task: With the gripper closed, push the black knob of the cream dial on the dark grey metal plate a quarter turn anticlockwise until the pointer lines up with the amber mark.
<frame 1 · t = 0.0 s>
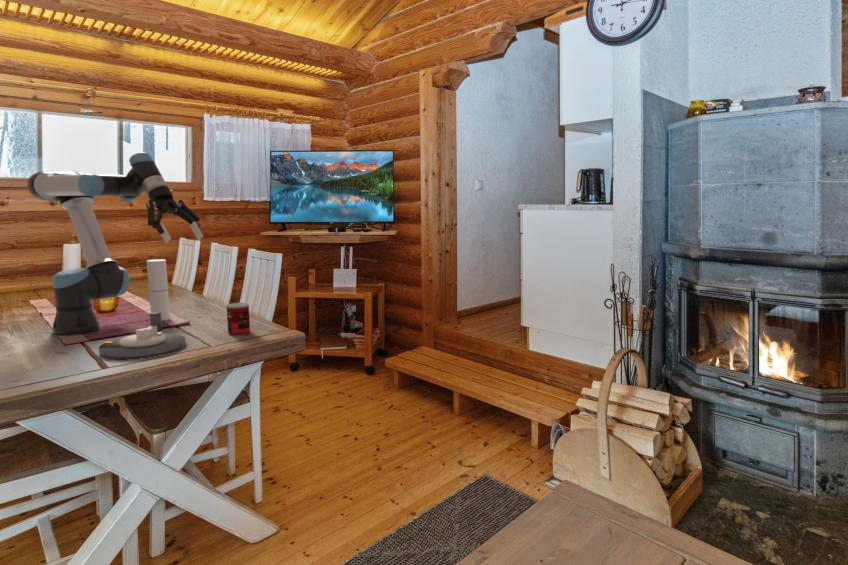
hand: (185, 239, 190), 36 cm above the table, tool tilted 35°, fingers open, 13 cm apart
cylindrical container: (161, 319, 224), on the table
canned food: (239, 333, 202), on the table
dial: (145, 329, 182), point 6 cm above the table, hinge at 0.0°
dial plate: (143, 348, 181), on the table
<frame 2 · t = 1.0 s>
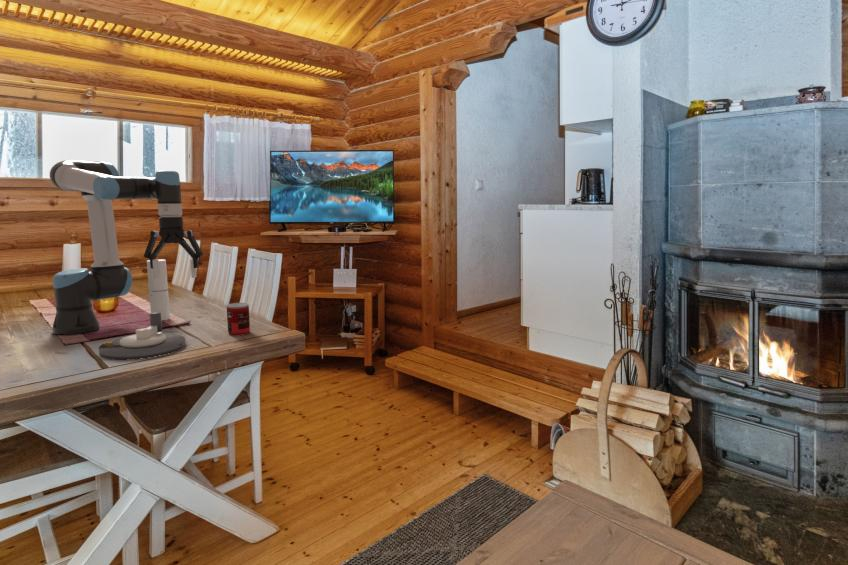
hand: (175, 277, 188), 23 cm above the table, tool pointing down, fingers open, 12 cm apart
nothing on the table moved.
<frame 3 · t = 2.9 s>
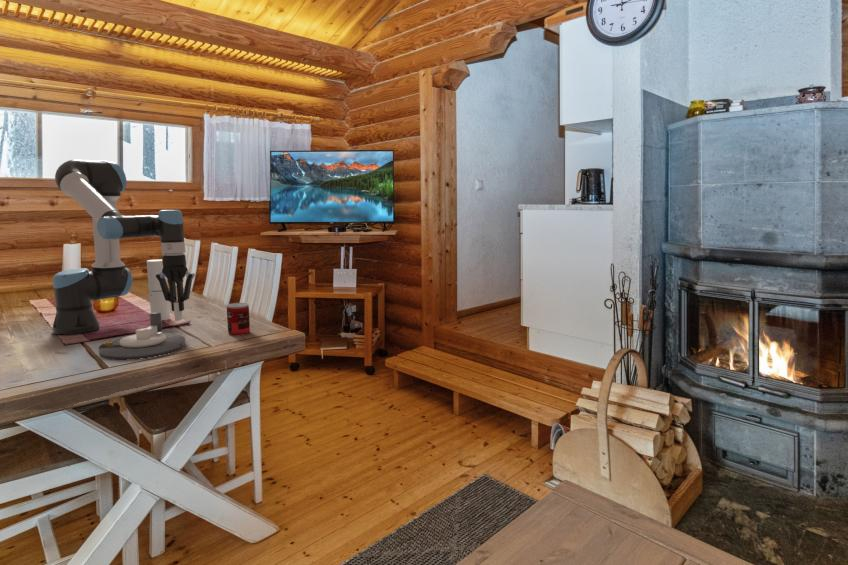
hand: (178, 319, 190), 8 cm above the table, tool pointing down, fingers closed
nothing on the table moved.
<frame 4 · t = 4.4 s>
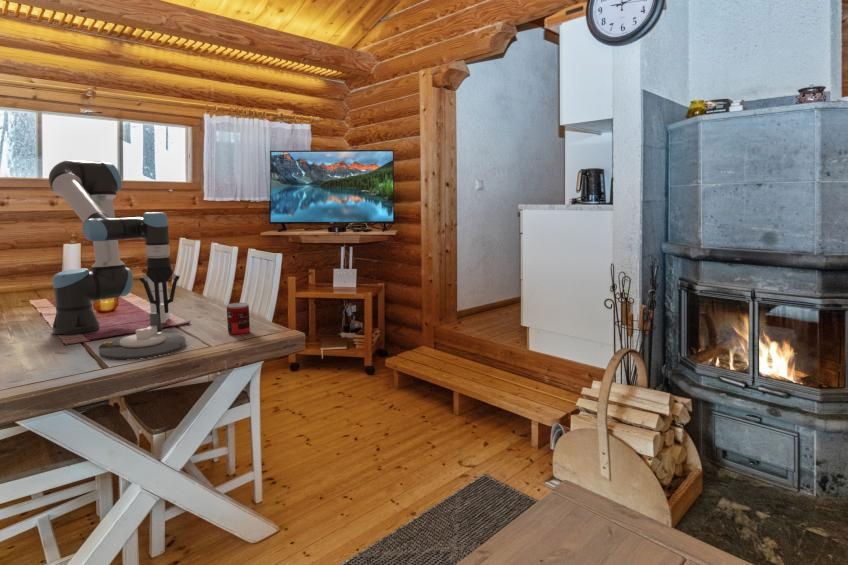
hand: (163, 322, 191), 7 cm above the table, tool pointing down, fingers closed
dial: (145, 329, 182), point 6 cm above the table, hinge at 0.3°, touching gripper
everything else where it was.
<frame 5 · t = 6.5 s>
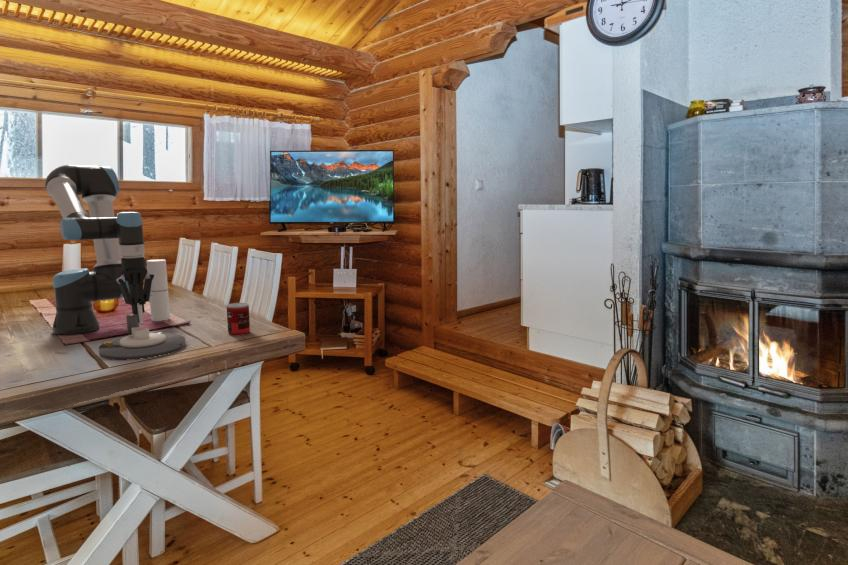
hand: (139, 322, 189), 7 cm above the table, tool pointing down, fingers closed
dial: (140, 329, 182), point 6 cm above the table, hinge at 42.9°, touching gripper
everything else where it was.
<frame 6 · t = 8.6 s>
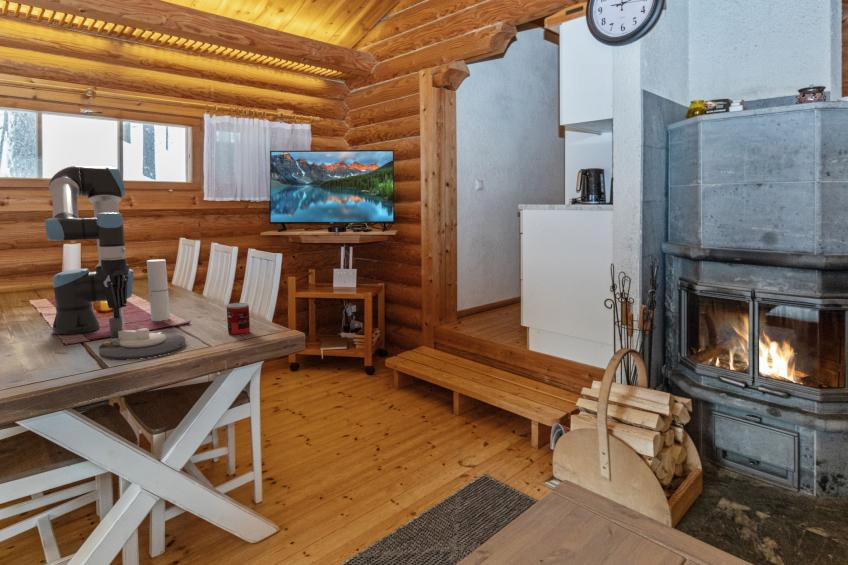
hand: (119, 326, 184), 7 cm above the table, tool pointing down, fingers closed
dial: (136, 330, 181), point 6 cm above the table, hinge at 78.7°, touching gripper
everything else where it was.
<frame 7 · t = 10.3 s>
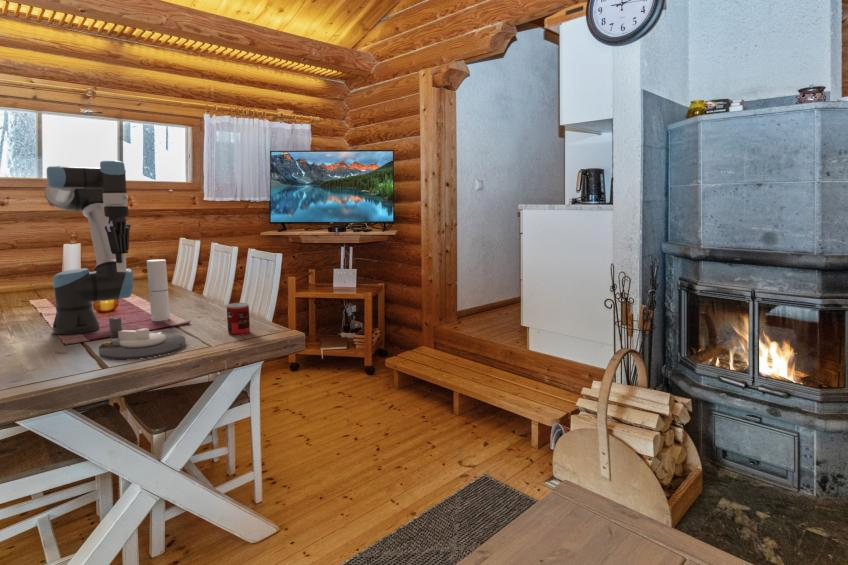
hand: (121, 271, 192), 24 cm above the table, tool pointing down, fingers closed
dial: (136, 330, 180), point 6 cm above the table, hinge at 78.7°
everything else where it was.
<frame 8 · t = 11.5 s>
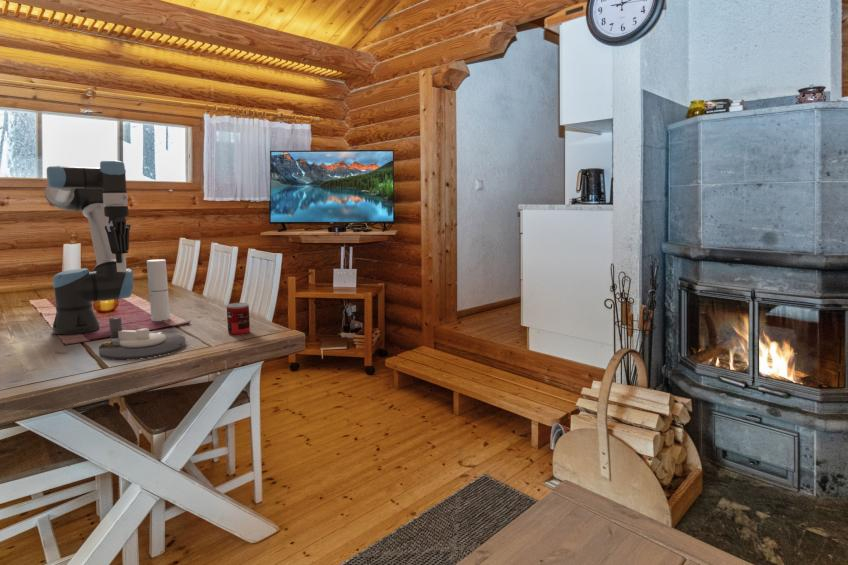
hand: (121, 271, 192), 24 cm above the table, tool pointing down, fingers closed
nothing on the table moved.
at the end: dial at +79° (first picture: +0°); canned food moved 0.2 cm from its start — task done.
